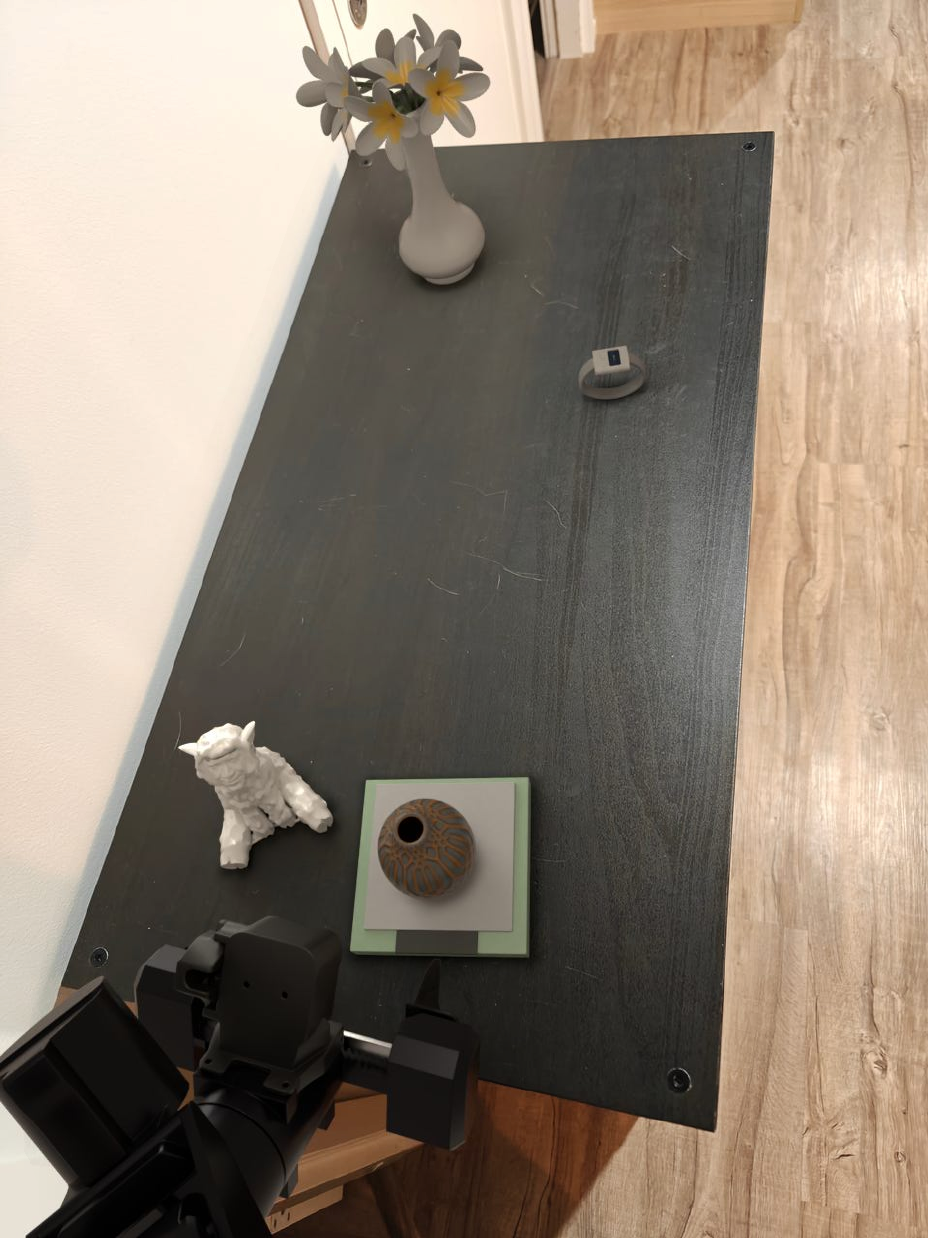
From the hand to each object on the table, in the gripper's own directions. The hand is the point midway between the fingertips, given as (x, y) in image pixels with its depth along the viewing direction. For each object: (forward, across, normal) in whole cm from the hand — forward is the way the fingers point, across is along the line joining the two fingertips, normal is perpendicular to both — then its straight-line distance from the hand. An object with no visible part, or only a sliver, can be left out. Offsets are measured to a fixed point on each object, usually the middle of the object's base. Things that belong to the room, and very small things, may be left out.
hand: (365, 947), depth 57 cm
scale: (+15, 0, +4) cm, 16 cm away
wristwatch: (+49, -4, -29) cm, 57 cm away
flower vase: (+60, +17, -40) cm, 74 cm away
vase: (+14, 0, +3) cm, 14 cm away
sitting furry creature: (+17, +16, +3) cm, 23 cm away
